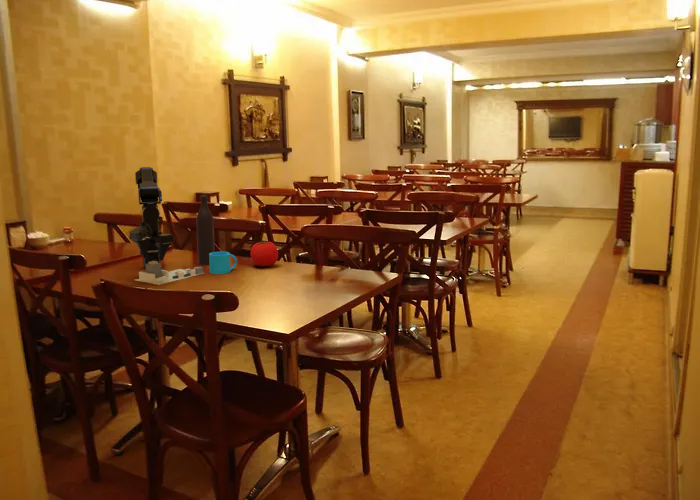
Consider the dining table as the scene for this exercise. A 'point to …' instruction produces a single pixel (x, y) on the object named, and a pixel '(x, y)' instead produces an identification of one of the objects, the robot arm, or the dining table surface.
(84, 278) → the dining table surface
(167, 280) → the board
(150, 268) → the block
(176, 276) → the cable
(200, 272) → the clamp and clips
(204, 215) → the wine bottle
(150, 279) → the holder
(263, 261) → the tomato
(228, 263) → the mug
